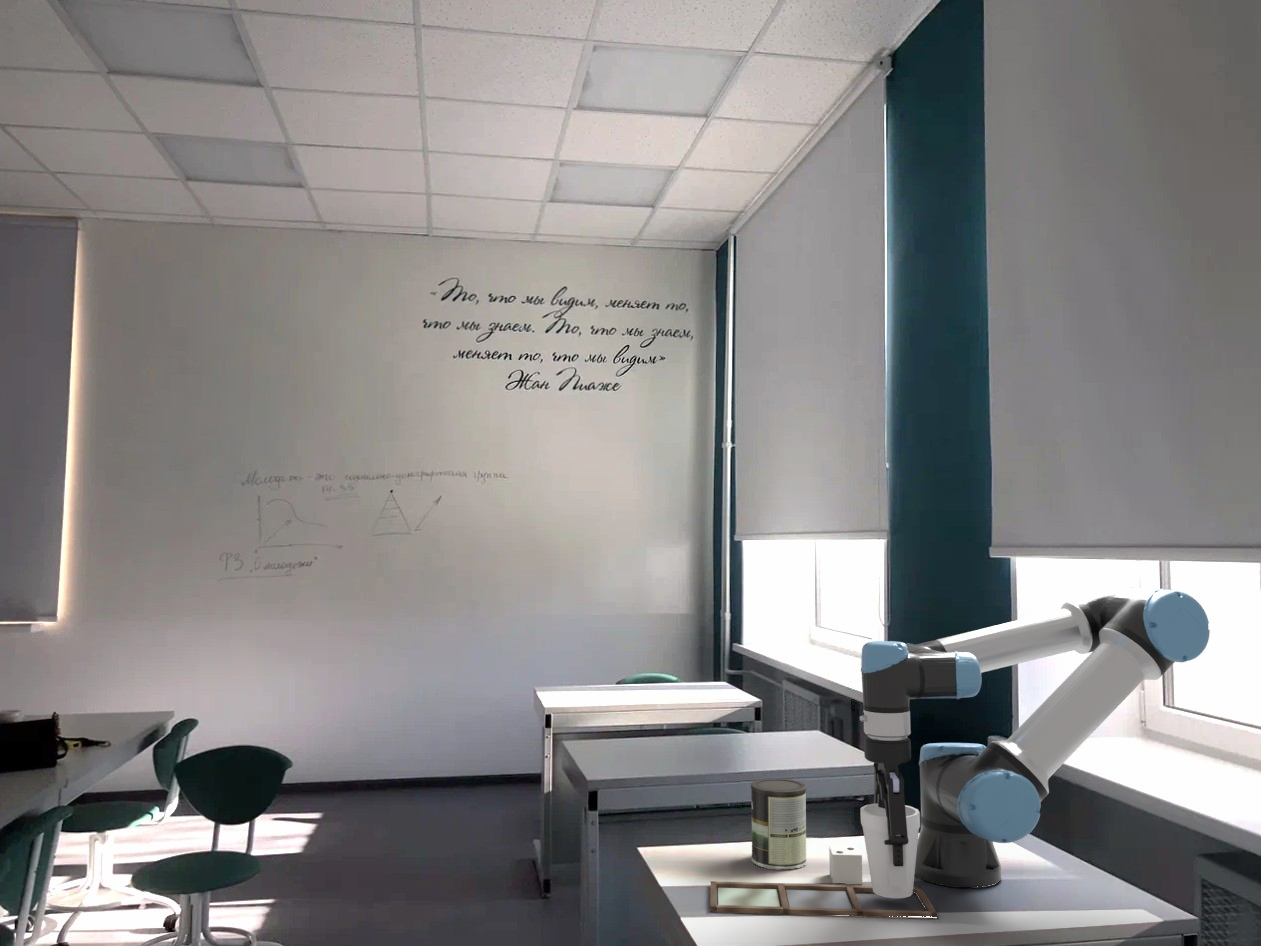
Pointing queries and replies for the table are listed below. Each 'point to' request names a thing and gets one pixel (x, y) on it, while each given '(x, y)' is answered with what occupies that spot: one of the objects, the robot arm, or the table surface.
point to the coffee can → (778, 823)
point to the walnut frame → (801, 899)
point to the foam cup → (878, 853)
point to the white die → (845, 865)
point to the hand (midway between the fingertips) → (891, 875)
